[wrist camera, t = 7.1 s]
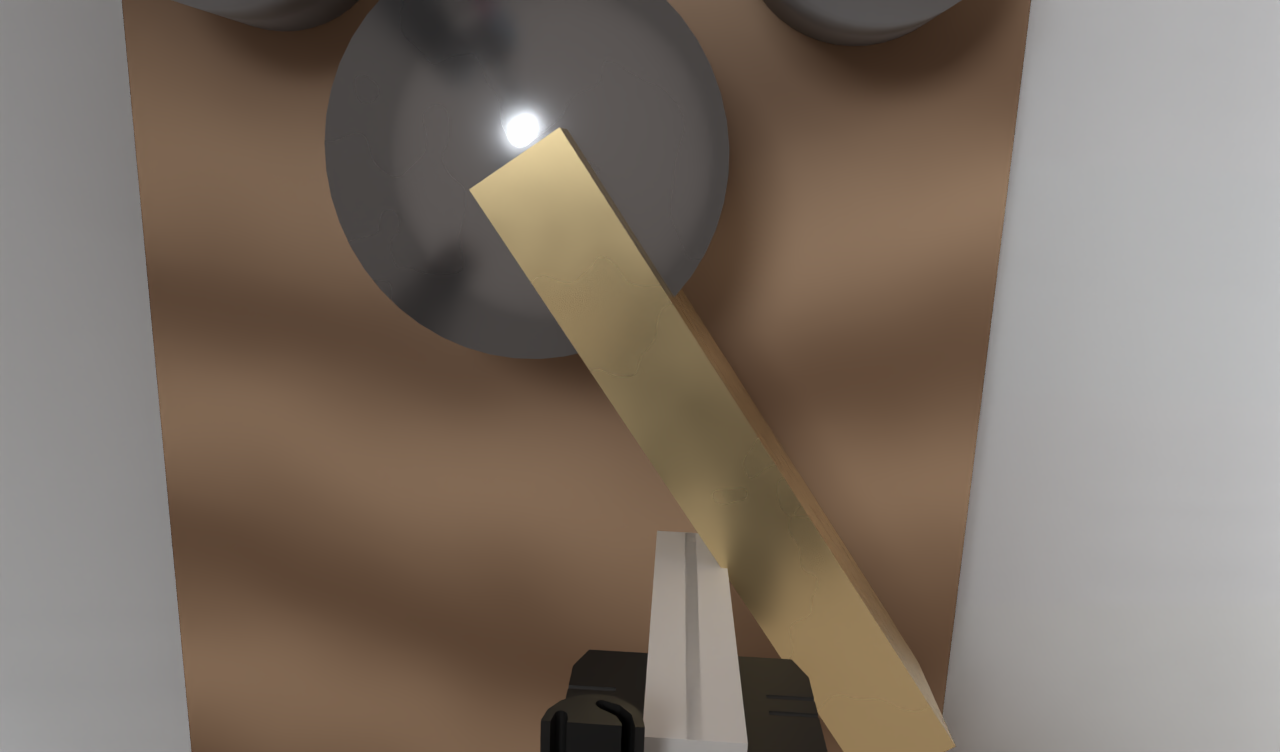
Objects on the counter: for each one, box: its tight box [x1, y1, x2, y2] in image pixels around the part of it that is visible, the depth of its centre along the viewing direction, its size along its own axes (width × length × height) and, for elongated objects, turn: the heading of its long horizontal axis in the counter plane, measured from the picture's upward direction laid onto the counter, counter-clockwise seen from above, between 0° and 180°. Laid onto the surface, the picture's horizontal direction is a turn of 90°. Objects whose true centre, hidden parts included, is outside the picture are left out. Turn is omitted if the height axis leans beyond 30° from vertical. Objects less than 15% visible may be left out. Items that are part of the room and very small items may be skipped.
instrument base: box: [122, 0, 1031, 752], centre depth 20 cm, size 24×19×5 cm
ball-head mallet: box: [324, 0, 956, 752], centre depth 17 cm, size 16×7×5 cm, turn 33°
